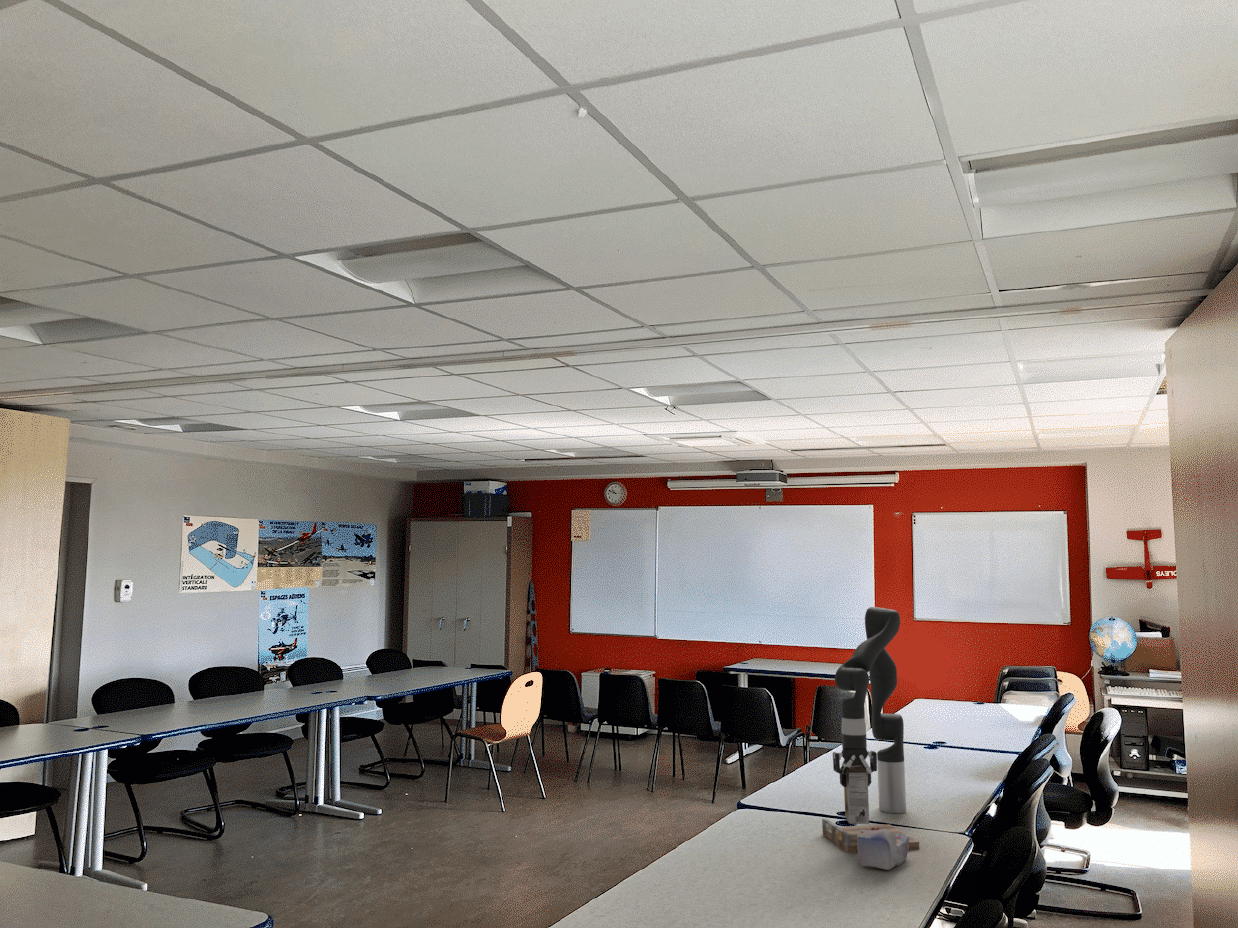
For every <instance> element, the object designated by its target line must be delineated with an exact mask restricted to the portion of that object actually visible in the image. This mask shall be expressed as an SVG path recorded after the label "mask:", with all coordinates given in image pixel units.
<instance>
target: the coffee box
mask: <svg viewBox="0 0 1238 928" xmlns="http://www.w3.org/2000/svg"><path fill="white" fill-rule="evenodd" d="M845 775H846V787H843V793H844V794H843V796H844V813H845V815H844V816H845V818H846V820H847V822H848V824H851V825H854V824H855V825H869V824H870V814H869V811H870V807H869V806H870V805H869V786H868V772H867V770H866V769H865V768H864V767H862V766H858V765H855V766H850V768H849V769H846V774H845Z"/></svg>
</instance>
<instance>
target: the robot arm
mask: <svg viewBox="0 0 1238 928" xmlns="http://www.w3.org/2000/svg"><path fill="white" fill-rule="evenodd" d="M864 626H865V627H864V628H865V635H866V639H865V640H864V641H863V642H861V643H860V644H859V645H857V647H856V649H854V652H853V653H852V654H851V657H850V658H849V659H847V660H846V661H845V662H844V663H843V664H841V665H840V666H839V667H838V669H836V672H835V675H834V683H835V685H836V687H837V688H838V689H840V690H843V691H851V692H852V691H854V695H853V696H851V697H845V698H843V699H842V700H841V717H842V718H841V747H842V748H841V749H842V750H841V752H836V751H833V752H832V763H833V771H834V773H835V772H836V773H837V774H839V783H840V785H841V786H842V787H843V788H844V787H846V775H845V774H846V769H849V768H850V766H855V765H858V766H862V767H864V768H865V769H866V770H867V772H868V787H870V785H871V784H872V773H874V772H877V789H878V810H879V811H881V812H883V813H888V814H903V813H905V812H907V796H906V795H907V791H906V772H905V771H906V770H905V751H904V749H905V748H904V739H905V738H904V733H905V732H904V731H905V730H904V726H905V725H904V719H903V717H902V715H901V714H898V713H882V711H883V708H884V706H885V704H886V703H887V701H888V700H889V698H891V696H892V695H893V693H894V691H895V690H896V688H897V685H898V673H897V671H898V670H897V665H896V663H895V661H894V660H893V657H892V656H891V655H890V654H889V652H888V651H887V649H886V648H887V646H888V645H889V644H890V642H891V641H892V640H893V639H894V638H895V637H896V635H897V634H898V632H899V630H900V626H901V615H900V613H899V611H897V610H895V609H890V608H884V607H879V606H878V607H876V606H870V607H868V608H867V609H866V611H865V615H864ZM869 684H870V693H871V694H870V695H871V732H872V736H873V737H874V739H875V740H879V741H892V742H893V741H894V743H893V744H892V745H890V746H889V747H886V748H883V749H880V750H878V751H877V752H876V751H874V750H870V751H868V750H867V747H868V745H867V743H868V742H867V724H866V713H865V703H866V697H867V692H868V689H869ZM841 758H843V761H842V763H841V762H840V760H841ZM867 758H869V764H868V762H867V761H866V760H867ZM840 763H841V764H840Z"/></svg>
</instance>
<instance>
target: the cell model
mask: <svg viewBox="0 0 1238 928" xmlns="http://www.w3.org/2000/svg"><path fill="white" fill-rule="evenodd" d="M909 836H910V835H908V836H906V835H904V834H895V833H893V832H891V831H890V830H887V829H879V828H877V829H874V828H872V829H871V830H860V831H859V833H858V836H857V841H858V852H857V853H858V858H859V861H860V864H861V866H862V867H865V868H866V867H872V868H877V869H880V870H884V871H890V870H891V869H892V868H894V867H897V866H900V865H901V864H903V863H904V862H905V860H906V859H907V858H908V853H909V850H910V849H909Z"/></svg>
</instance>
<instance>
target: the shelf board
mask: <svg viewBox="0 0 1238 928" xmlns="http://www.w3.org/2000/svg"><path fill="white" fill-rule="evenodd" d="M821 821H822V822H821V825H822V826H821V827H822V828H821V830H822V835H823V836H824V837H826V838H827V839H829V840H830V841H831V842H832V843H833V844H835V845H836V846H838V847H839V848H840V849H842V850H843V851H844V852H846V853H847V854H850V853H851V854H852V853H858V841H857V836H858V833H859V831H860V830H871V829H872V828H874V829H877V828H879V829H887V830H890V831H891V832H893V833H895V834H904V835H906V836H909V850H918V849H920V841H918V840H917V839H915V838H913V837H912V836H910V835H908V834H907V833H905V832H903V831H902V830H900V829H899V828H897V827H895V826H893V825H892V824H874V825H873V824H872V825H869V824H868V825H855V826H853V825H851V826H838V825H836V824H835V823H834V822H832V821H831V820H829V819H828V818H825V817H823V818H821Z"/></svg>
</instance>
